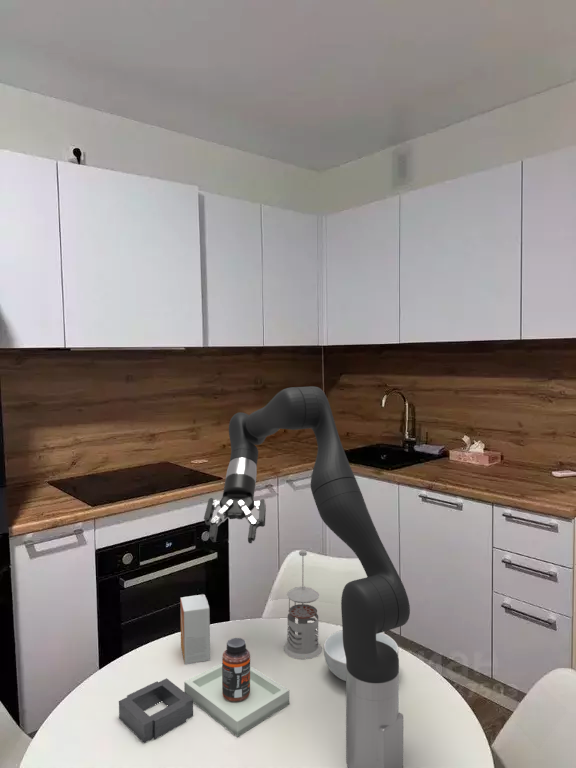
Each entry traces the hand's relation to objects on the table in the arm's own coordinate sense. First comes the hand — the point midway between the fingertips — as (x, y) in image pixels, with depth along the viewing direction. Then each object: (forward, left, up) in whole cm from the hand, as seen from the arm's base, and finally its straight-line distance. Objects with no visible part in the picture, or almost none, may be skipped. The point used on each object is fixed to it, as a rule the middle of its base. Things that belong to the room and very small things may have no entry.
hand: (231, 541), depth 121 cm
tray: (-8, +5, -31) cm, 32 cm away
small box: (+13, +1, -31) cm, 34 cm away
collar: (-1, +20, -31) cm, 37 cm away
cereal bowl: (-21, -21, -31) cm, 43 cm away
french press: (-3, -20, -31) cm, 37 cm away
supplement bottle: (-8, +5, -30) cm, 32 cm away
